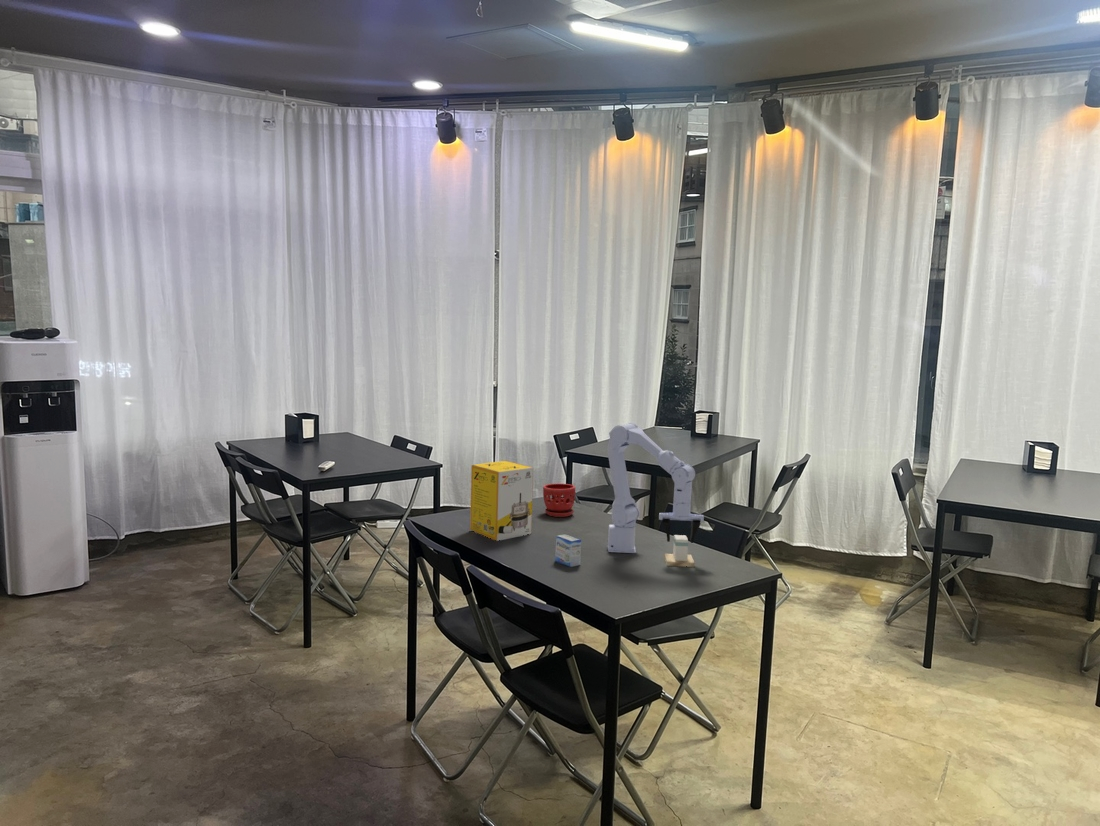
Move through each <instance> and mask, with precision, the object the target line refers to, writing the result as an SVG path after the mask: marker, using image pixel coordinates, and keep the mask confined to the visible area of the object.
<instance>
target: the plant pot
mask: <svg viewBox="0 0 1100 826" xmlns="http://www.w3.org/2000/svg"><path fill="white" fill-rule="evenodd" d="M542 489H543V490H542V496H543V502H544V505H545V507H546V508H545V509H544V512H545V513H546V515H548V516H549V517H556V518H558V517H559V518H564V517H570V516H571V515H573V513H574V511H575V510H574V509H573V506H574V503H575V498H576V486H575V485H573V484H568V483H550V484H545V485H543V487H542Z"/></svg>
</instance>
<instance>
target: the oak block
mask: <svg viewBox="0 0 1100 826" xmlns="http://www.w3.org/2000/svg"><path fill="white" fill-rule="evenodd" d="M663 559H664V561H665V564H666V566H668V567H686V566H687V567H690V568H695V561H694V559H693V556H692V554H689V553H688V555H687V561H675V559H674V557H673V553H664V555H663ZM687 567H686V568H687Z"/></svg>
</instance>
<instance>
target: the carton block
mask: <svg viewBox="0 0 1100 826" xmlns="http://www.w3.org/2000/svg"><path fill="white" fill-rule="evenodd" d="M672 540H673V544H672V545H673V547H672V554H673V557H674V559H675V561H687V555H688V554H689V553H688V550H689V549H688V548H689V539H688V537H687V535H684V534H683V535H682V534H681V535H680V534H673V539H672Z"/></svg>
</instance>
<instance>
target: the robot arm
mask: <svg viewBox="0 0 1100 826" xmlns="http://www.w3.org/2000/svg"><path fill="white" fill-rule="evenodd" d="M608 435H609V439H608V444H607V447H606V449H607V450H606V451H607V457H608V461H609V462H608V464H609V469H610V475H611V482H612V487H613V488H612V489H613V492H614V493H613V494H614V500H613V503H612V504H611V509H612V512H611V514H610V515H611V516H610V517H611V521H612V523H613V524H611V523H610V524H608V536H607V538H608V539H607V544H606V545H607V551H608V553H624V554H627V553H628V554H636V553H637V551H636V546H635V544H636V543H635V540H636V539H635V538H636V521H638V519H639V517H640V510H639V507H637V504H636V500H635V499H634V498H633V497H632V495H631V490H630V489H631V488H630V483H629V478H628V472H627V467H626V459H625V454H624V453H625V452H624V451H626V449H627V448H628V446H629V445H638V446H639V447H641V448H642V449H643V450H645V451H646V452H648V453H649V454H650V455H652V456H653V457H654V458H655V459H656V464H657V465H659V466H660V467H661V468H662V469H663V470H664V471H666V472H667V473H668V474H669V475H671V479H672V482H673V483H674V485H673V486H674V488H673V502H672V503H673V505H672V512H659V514H658V520H660V521H662V523H663V526H664V528H665V529H664V530H665V535H666V541H667V543H668V542H670V540H671V535H670V533H671V521H685V522H686V521H688V522H690V525H691V526H690V538H689V542H690V544H693V543H694V539H695V536H696V534H697V532H698V530H699V529H700V526H701V523H704V519H705V516H704V514H696V513H691V508H692V493H693V492H692V489H693V488H692V487H693V481H694V479H695V477H696V470H695V468H694V467H693V466H692V465H691V464H689V463H686V462H685V461H684V460H680V459H679V458H678V457H677V456H675V453H674V452H673V451H672V450H669V449H666V450H663V449H662V448H661V447H660V446H659V445H657V443H656V442H654V440H653V439H651V437H649V436H648V435H647V434H646V433H645V432H644V430H643V429H642V428H641V427H638V425H637V424H635V423H633V422H630V423H629V422H628V423H626V424H621V425H620V424H619V425H615V426H614V427H613V428H612V429H611V430H610V432H609V433H608Z"/></svg>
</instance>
